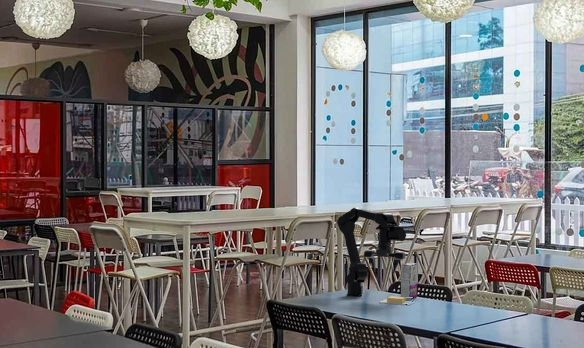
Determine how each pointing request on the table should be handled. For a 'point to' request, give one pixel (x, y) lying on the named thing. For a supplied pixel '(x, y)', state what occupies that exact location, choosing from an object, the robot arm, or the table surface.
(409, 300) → the mat
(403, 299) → the tile
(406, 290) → the candy bar box
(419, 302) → the table surface
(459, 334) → the table surface
